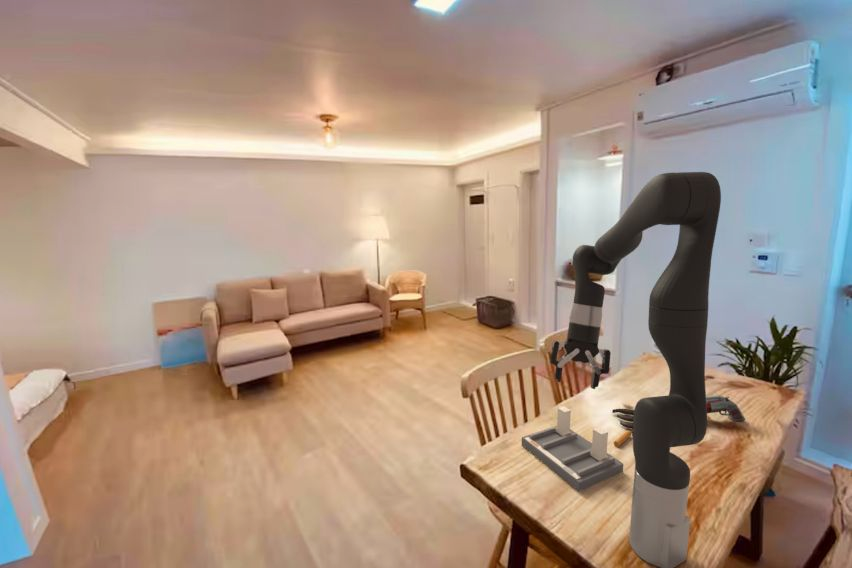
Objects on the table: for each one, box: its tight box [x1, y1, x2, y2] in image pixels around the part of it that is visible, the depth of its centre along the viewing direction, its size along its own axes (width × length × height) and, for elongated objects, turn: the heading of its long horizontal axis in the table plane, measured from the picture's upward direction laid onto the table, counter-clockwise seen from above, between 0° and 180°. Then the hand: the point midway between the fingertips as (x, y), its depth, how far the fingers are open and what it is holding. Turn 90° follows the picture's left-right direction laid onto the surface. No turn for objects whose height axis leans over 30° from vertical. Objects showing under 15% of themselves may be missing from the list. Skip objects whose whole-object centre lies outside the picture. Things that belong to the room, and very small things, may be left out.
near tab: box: [590, 426, 609, 461], centre depth 103 cm, size 4×2×8 cm, turn 25°
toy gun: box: [706, 394, 746, 423], centre depth 126 cm, size 4×20×10 cm, turn 81°
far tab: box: [556, 405, 572, 436], centre depth 115 cm, size 4×2×8 cm, turn 25°
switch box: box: [521, 425, 624, 492], centre depth 108 cm, size 22×16×4 cm
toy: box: [611, 408, 634, 448], centre depth 120 cm, size 23×4×30 cm
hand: (575, 384), depth 99 cm, fingers open, 8 cm apart
